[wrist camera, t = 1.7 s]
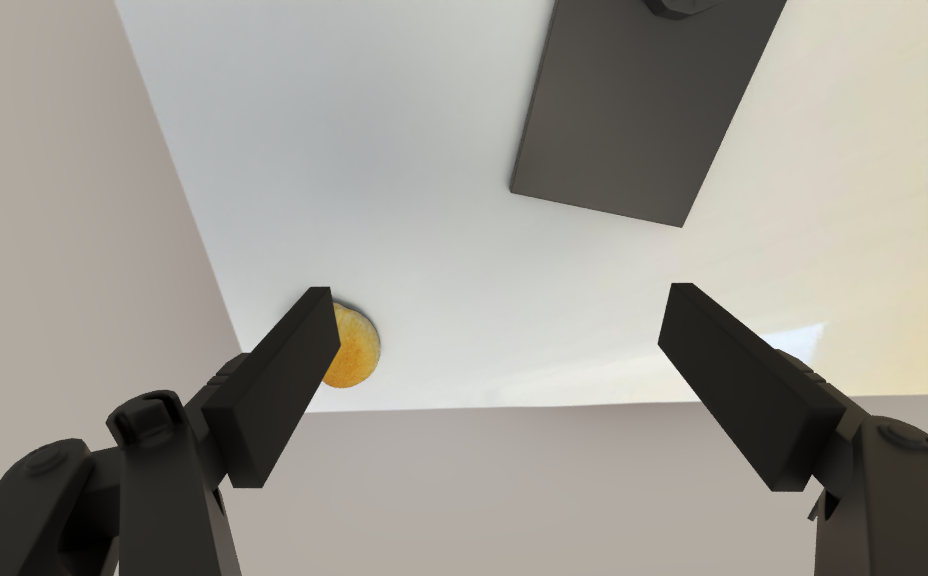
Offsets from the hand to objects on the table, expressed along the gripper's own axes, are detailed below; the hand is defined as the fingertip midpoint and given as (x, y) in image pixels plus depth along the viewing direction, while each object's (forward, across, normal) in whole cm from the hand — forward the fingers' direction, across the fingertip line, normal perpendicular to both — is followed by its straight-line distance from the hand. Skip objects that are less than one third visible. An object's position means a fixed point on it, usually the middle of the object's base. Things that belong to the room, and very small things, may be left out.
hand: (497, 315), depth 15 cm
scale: (+18, +11, +9) cm, 22 cm away
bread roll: (+18, -14, -12) cm, 26 cm away
